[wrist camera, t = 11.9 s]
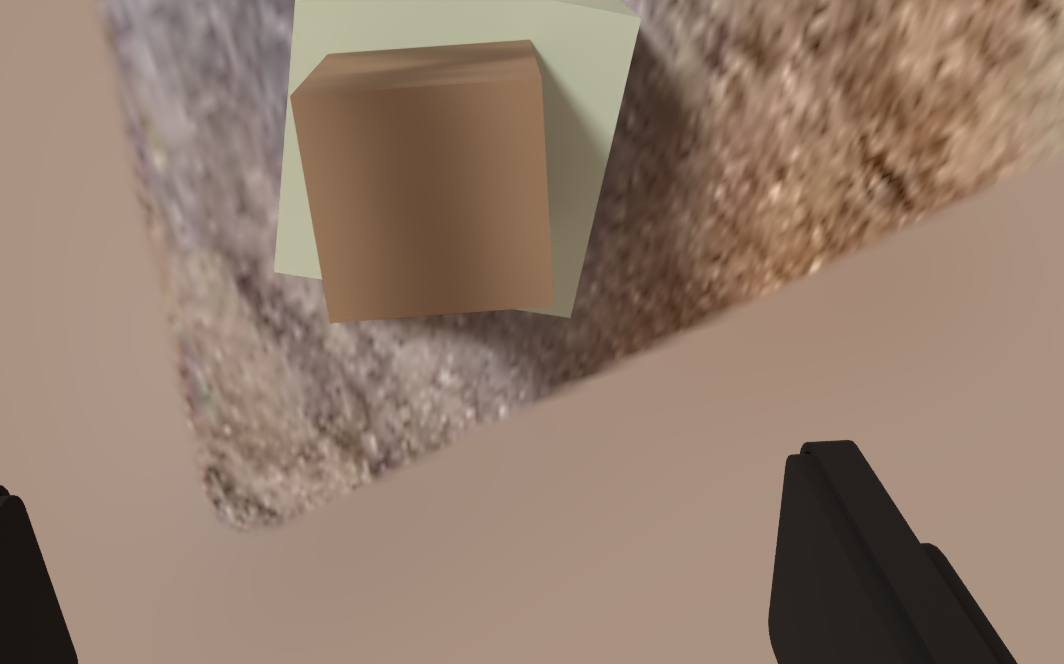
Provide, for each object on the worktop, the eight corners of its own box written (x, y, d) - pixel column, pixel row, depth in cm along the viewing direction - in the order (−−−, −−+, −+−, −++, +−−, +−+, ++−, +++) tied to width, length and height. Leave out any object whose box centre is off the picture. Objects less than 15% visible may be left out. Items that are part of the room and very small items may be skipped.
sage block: (618, -2, 32) (641, 18, 27) (559, 263, 36) (570, 318, 31) (325, -62, 30) (299, -51, 26) (300, 221, 34) (274, 272, 30)
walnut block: (529, 39, 27) (541, 78, 22) (540, 229, 30) (554, 306, 24) (327, 53, 27) (289, 96, 22) (357, 243, 30) (329, 323, 24)
